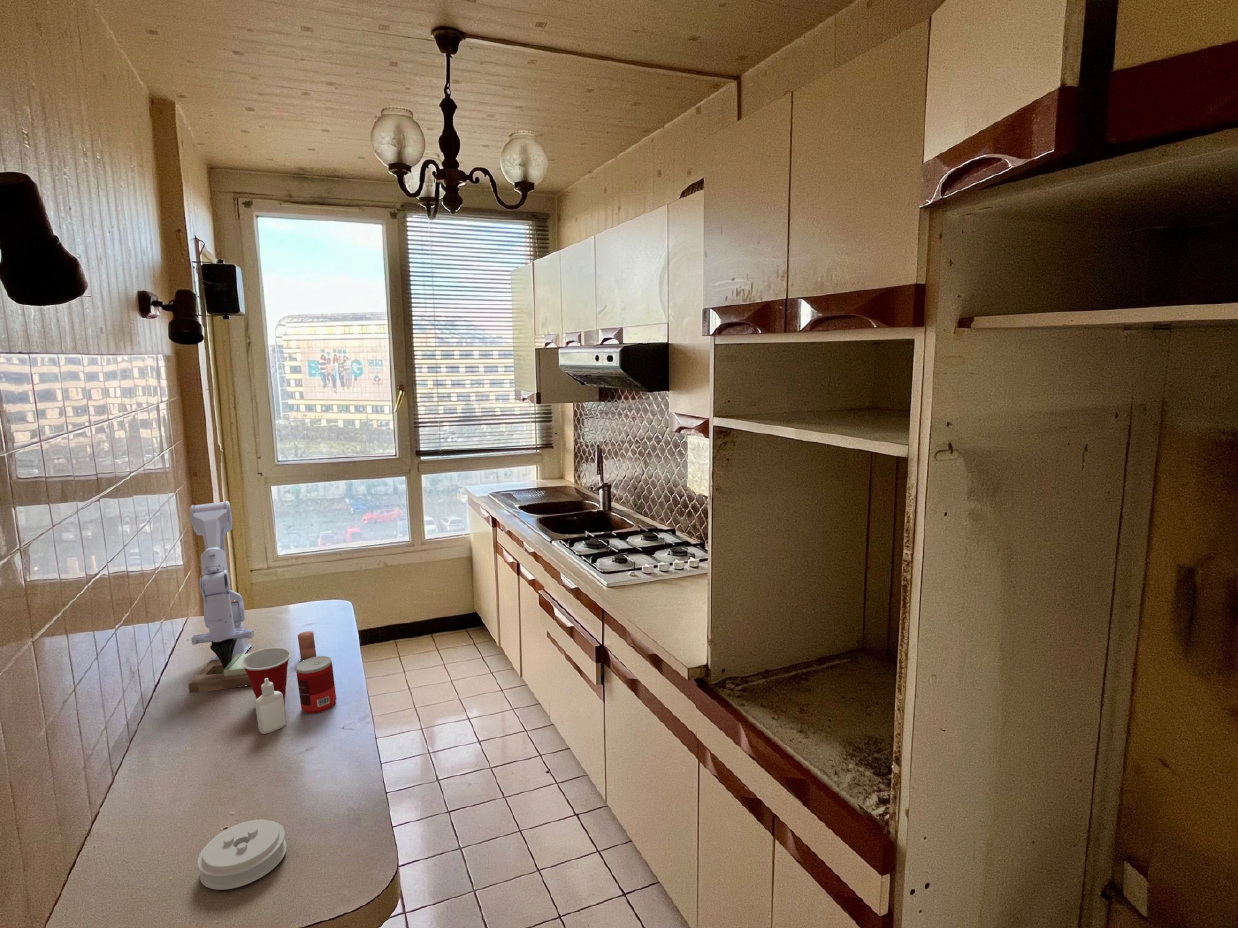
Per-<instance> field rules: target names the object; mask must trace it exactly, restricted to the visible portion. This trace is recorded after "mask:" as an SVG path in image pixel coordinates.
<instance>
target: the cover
mask: <svg viewBox="0 0 1238 928" xmlns="http://www.w3.org/2000/svg"><path fill="white" fill-rule="evenodd" d="M251 653H252V652H250V653H249V652H248V653H247V652H246V654H242V653H241V654H237V655H236V656H235V657H234V659H233V660H232V661H231V662H230V663H229V664H228V665H227V667H226V668H225V670H224V676H232V675H240V674H247V673H246V671H245V668H243V666H242V665H241V661H242V659H243V658H244V657H246V656H247V655H248V654H251Z"/></svg>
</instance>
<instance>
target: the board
mask: <svg viewBox="0 0 1238 928" xmlns="http://www.w3.org/2000/svg"><path fill="white" fill-rule="evenodd" d="M233 659H234V658H232V660H233ZM224 670H225V668H223V665H222V663H221V661H220V659H217V660H212V659H211V660H209V661H208V662H207V664H206V665H205V666H204V667H203V668H202V669H201V670H200V671H199V672H198V673H197V674H196V675H195V676H194V677H193V678H192V679H191V680H190V682H188V690H189V693H190V694H194V693H201V692H211V691H219V690H227V689H226V688H229V689H235V688H236V687H237V688H240V687H239V686H245V685H251V683H250V680H249V678H248V675H247V674H240V675H232V676H224ZM245 687H246V686H245ZM237 688H236V689H237Z"/></svg>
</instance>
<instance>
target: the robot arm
mask: <svg viewBox="0 0 1238 928" xmlns="http://www.w3.org/2000/svg"><path fill="white" fill-rule="evenodd" d="M232 515H233V514H232V508H231V503H230V502H229V501H228V500H225V501H221V502H212V503H211V502H210V503H203V504H196V505H194V504H192V505H190V507H189V518H190V524H191V527H192V528H193V532H195V534H196V535H197V536H201V537H202V539H203V544H204V549H205V550H204V551H203V552H202V553H201V554H200V566H201V577H199V590H200V594H201V595H202V596H201V597H202V599H203V600H202V601H203V604H202V605H203V619H204V625H205V627H206V628H207V629H208V630H209V632H206V633H200V634H194V635H193V636H192V637H191V638H190V640H191V645H192V646H194V645H198V644H204V643H205V644H206V643H211V645H210V646H209V648H210V649H211V651H212V652H213V653H214V654H215V656H213V658H212V659H211V660H217V659H220V661H221V663H222V665H223V668H226V667H227V665H228V664H229V663H230V662H231V661H232V658H234V657H235V656H236V655H237V654H241V653H242V654H245V653H246V654H247V652H248V651H249V650H250V649H251V648H252V646H253V644H251V643H250V644H249V640H250V639H253V638H254V637H255V632H254V630H255V629H254V628H251V629H250V628H249V629H247V627H246V624H245V623H244V621H246V612H245V610H246V609H245V603H244V599H243V596H242V595H241V593H239V592H236V591H234V590H232V589H231V580H230V574H229V567H228V558H227V552H226V544H225V543H226V542H225V539H226V535H227V533H228V532H230V531H232V530H233V526H234V525H233V516H232ZM250 647H251V648H250ZM249 648H250V649H249ZM247 650H248V651H247Z"/></svg>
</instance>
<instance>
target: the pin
mask: <svg viewBox="0 0 1238 928" xmlns="http://www.w3.org/2000/svg"><path fill="white" fill-rule="evenodd" d="M314 634H315V633H314V631H303V632H300V633H298V634H297V640H298V648H299V656H300V660H301V661H302V660H306V659H309V658H312V657H317V648H316V643H315V635H314Z"/></svg>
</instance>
